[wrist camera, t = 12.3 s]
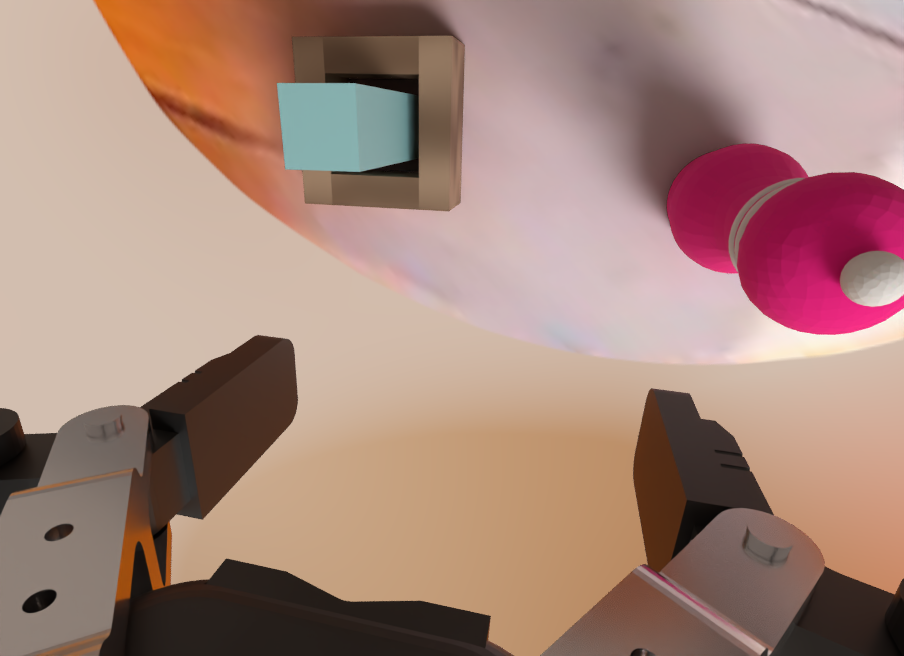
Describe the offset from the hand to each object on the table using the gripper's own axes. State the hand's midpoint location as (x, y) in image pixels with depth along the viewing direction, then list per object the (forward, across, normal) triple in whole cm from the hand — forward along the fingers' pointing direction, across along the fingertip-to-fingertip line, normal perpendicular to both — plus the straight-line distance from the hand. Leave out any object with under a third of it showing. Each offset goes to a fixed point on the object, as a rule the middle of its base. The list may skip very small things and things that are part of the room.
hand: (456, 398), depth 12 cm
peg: (+27, +10, -5) cm, 30 cm away
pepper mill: (+28, -12, -2) cm, 30 cm away
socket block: (+27, +10, -5) cm, 30 cm away
